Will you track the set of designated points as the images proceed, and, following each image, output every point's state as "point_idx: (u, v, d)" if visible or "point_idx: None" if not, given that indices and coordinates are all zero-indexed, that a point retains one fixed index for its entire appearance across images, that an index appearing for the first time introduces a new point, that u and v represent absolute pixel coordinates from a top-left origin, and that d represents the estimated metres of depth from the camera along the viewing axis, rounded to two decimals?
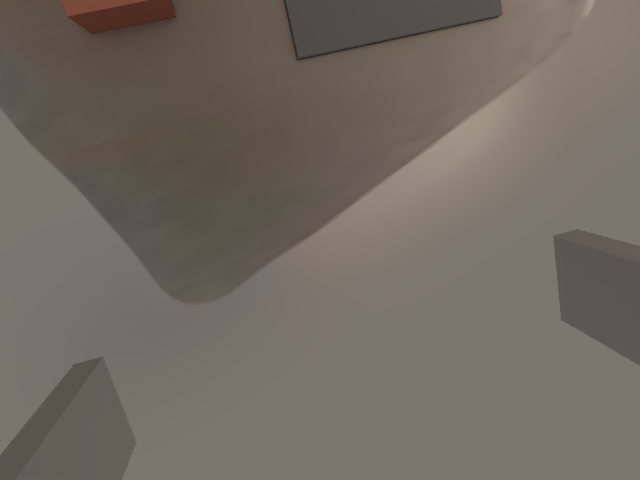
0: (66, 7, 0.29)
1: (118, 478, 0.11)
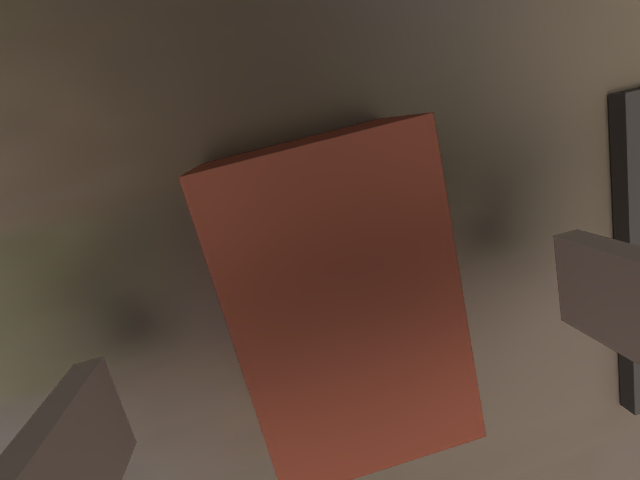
0: None
1: (118, 478, 0.11)
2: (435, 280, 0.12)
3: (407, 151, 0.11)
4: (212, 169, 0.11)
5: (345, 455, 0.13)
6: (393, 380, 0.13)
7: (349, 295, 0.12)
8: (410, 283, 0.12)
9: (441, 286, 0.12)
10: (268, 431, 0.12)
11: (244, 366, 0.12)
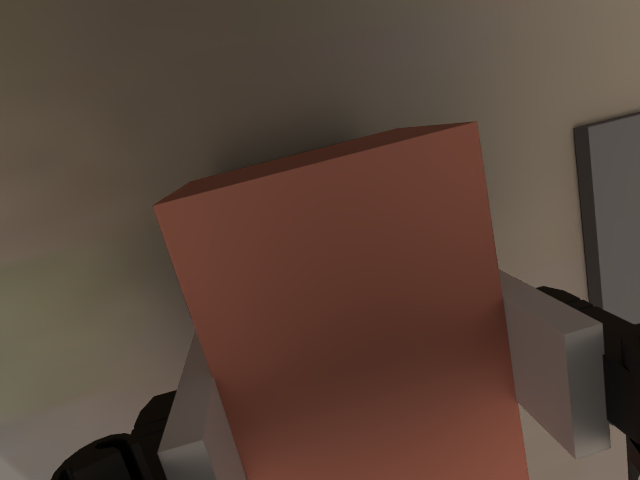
0: None
1: None
2: (475, 328, 0.10)
3: (443, 170, 0.09)
4: (196, 195, 0.08)
5: None
6: (422, 451, 0.10)
7: (369, 349, 0.09)
8: (445, 334, 0.10)
9: (482, 336, 0.10)
10: None
11: (238, 439, 0.09)
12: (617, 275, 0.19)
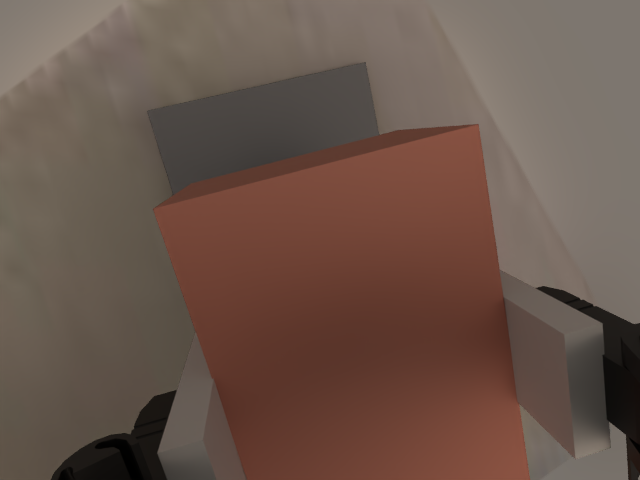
0: None
1: None
2: (477, 331, 0.10)
3: (444, 173, 0.09)
4: (197, 198, 0.08)
5: None
6: (423, 454, 0.10)
7: (370, 352, 0.09)
8: (446, 337, 0.10)
9: (484, 339, 0.10)
10: None
11: (239, 442, 0.09)
12: None
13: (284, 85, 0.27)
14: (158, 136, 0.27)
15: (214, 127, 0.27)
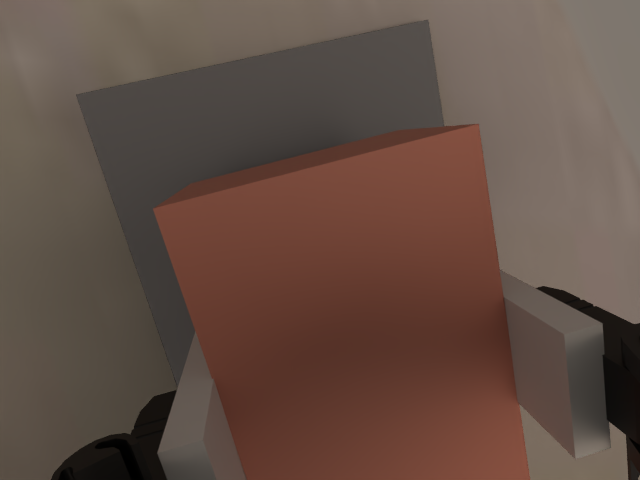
0: None
1: None
2: (477, 331, 0.10)
3: (444, 173, 0.09)
4: (196, 198, 0.08)
5: None
6: (423, 454, 0.10)
7: (370, 353, 0.09)
8: (446, 337, 0.10)
9: (484, 339, 0.10)
10: None
11: (238, 443, 0.09)
12: None
13: (300, 54, 0.17)
14: (96, 136, 0.17)
15: (187, 122, 0.17)
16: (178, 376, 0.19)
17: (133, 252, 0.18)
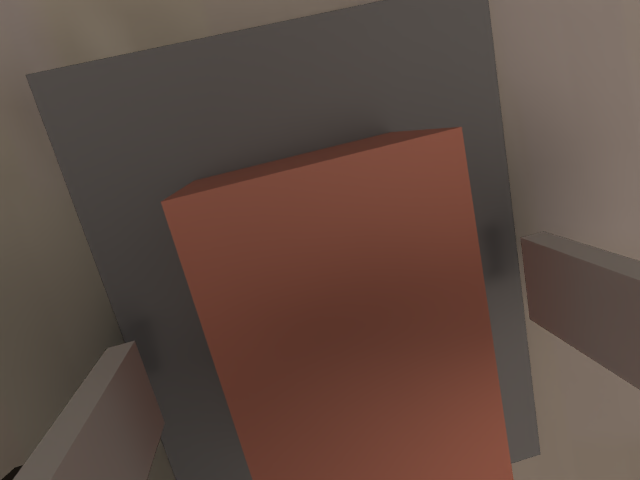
0: None
1: (151, 455, 0.11)
2: (460, 320, 0.10)
3: (430, 172, 0.09)
4: (201, 192, 0.09)
5: None
6: (410, 435, 0.11)
7: (361, 338, 0.10)
8: (432, 324, 0.10)
9: (467, 327, 0.10)
10: None
11: (237, 421, 0.10)
12: None
13: (320, 23, 0.13)
14: (53, 130, 0.13)
15: (173, 112, 0.13)
16: (164, 432, 0.15)
17: (105, 279, 0.14)
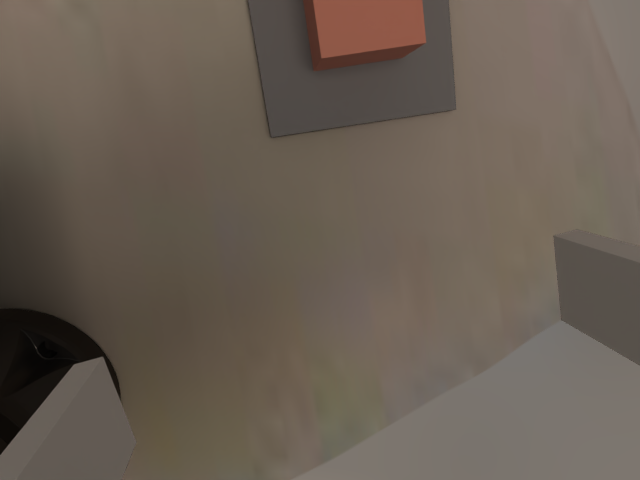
0: (322, 48, 0.26)
1: (118, 478, 0.11)
2: None
3: None
4: None
5: (354, 37, 0.26)
6: None
7: None
8: None
9: None
10: (317, 13, 0.25)
11: None
12: (358, 112, 0.32)
13: None
14: None
15: None
16: (259, 51, 0.30)
17: None
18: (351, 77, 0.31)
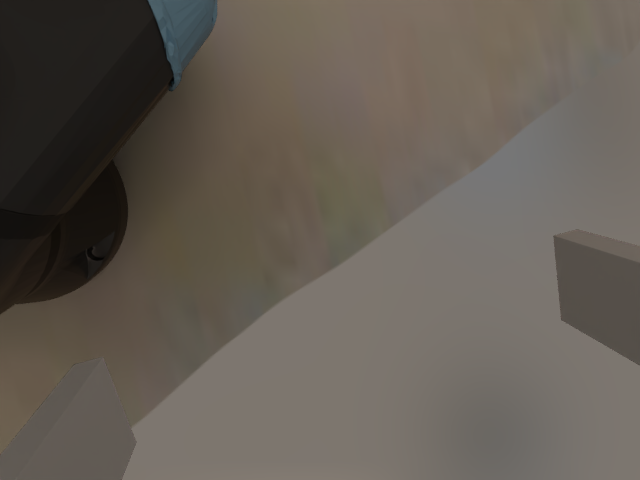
0: None
1: (118, 478, 0.11)
2: None
3: None
4: None
5: None
6: None
7: None
8: None
9: None
10: None
11: None
12: None
13: None
14: None
15: None
16: None
17: None
18: None
